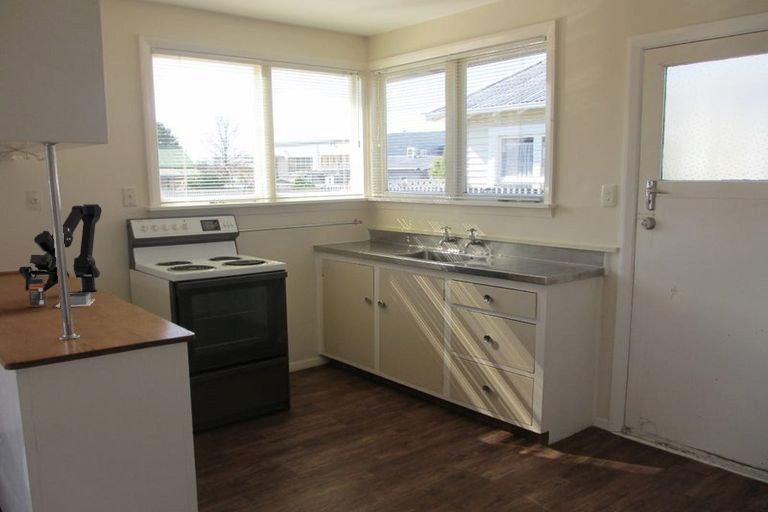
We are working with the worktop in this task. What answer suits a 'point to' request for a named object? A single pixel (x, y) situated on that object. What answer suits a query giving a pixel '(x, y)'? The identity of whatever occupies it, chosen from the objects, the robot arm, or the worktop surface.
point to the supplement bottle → (37, 293)
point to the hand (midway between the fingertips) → (35, 290)
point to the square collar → (80, 299)
